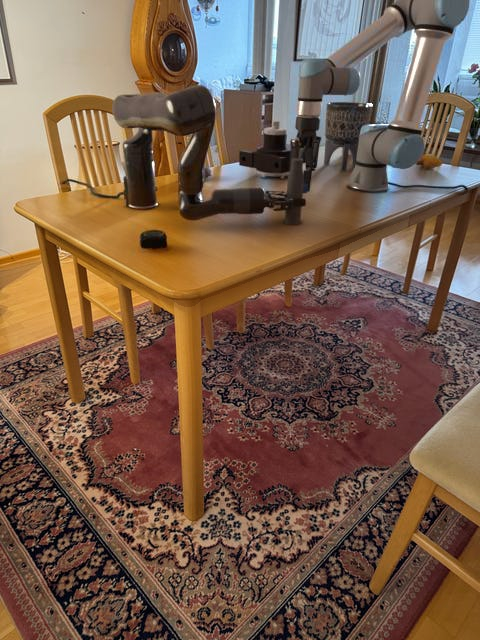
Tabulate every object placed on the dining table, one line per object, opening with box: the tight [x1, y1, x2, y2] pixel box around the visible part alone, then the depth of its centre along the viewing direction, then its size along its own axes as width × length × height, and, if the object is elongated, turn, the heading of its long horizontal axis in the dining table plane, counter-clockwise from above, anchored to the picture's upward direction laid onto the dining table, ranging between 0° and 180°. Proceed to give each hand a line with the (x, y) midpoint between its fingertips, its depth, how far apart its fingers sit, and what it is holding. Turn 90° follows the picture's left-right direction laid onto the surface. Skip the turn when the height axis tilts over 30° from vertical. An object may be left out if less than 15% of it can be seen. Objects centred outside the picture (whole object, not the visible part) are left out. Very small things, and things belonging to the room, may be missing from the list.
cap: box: [303, 183, 308, 194], centre depth 152 cm, size 5×4×2 cm
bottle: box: [284, 158, 304, 226], centre depth 134 cm, size 5×5×18 cm
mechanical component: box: [238, 120, 305, 179], centre depth 191 cm, size 22×21×30 cm
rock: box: [204, 165, 213, 179], centre depth 182 cm, size 13×9×6 cm, turn 131°
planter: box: [323, 101, 374, 172], centre depth 204 cm, size 20×20×26 cm
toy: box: [415, 153, 443, 170], centre depth 212 cm, size 11×6×15 cm
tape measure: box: [139, 229, 168, 250], centre depth 117 cm, size 7×7×4 cm
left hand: (302, 199), depth 136 cm, fingers closed on bottle, 4 cm apart
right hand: (301, 191), depth 152 cm, fingers closed on cap, 4 cm apart
